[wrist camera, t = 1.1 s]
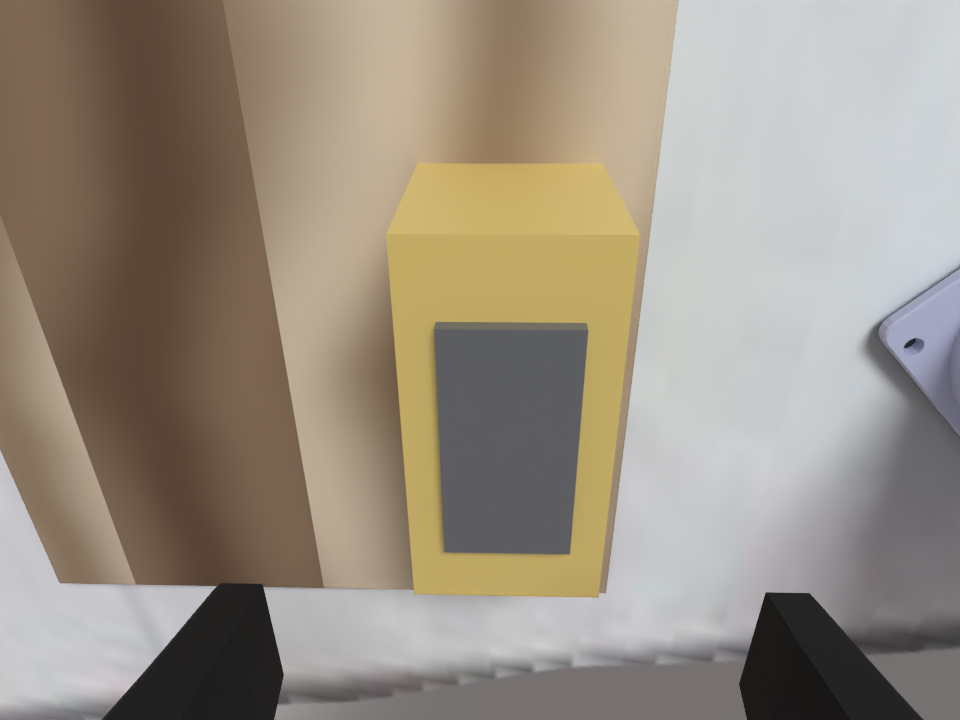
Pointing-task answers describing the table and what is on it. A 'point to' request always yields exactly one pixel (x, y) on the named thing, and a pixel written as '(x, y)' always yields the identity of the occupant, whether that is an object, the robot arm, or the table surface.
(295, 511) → the subfloor board
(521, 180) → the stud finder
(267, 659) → the robot arm
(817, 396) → the table surface
